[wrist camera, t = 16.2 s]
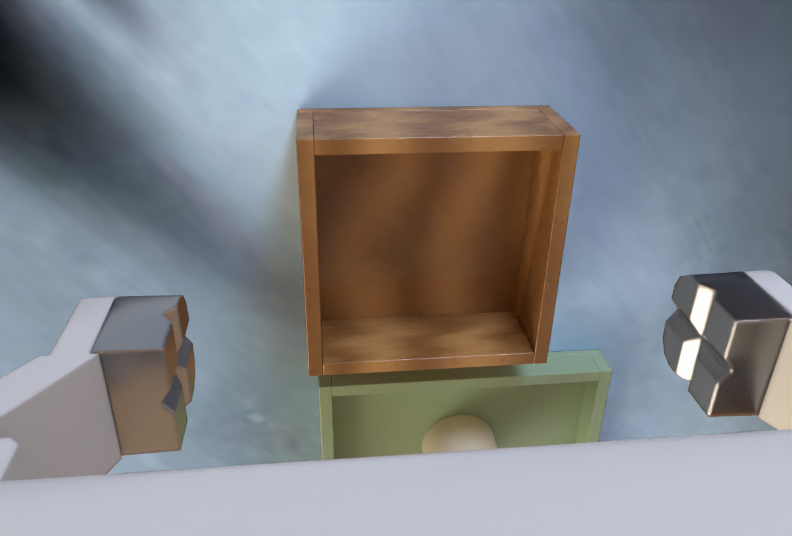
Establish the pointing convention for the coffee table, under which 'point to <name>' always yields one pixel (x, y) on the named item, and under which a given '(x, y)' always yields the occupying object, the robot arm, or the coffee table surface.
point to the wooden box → (431, 234)
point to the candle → (458, 435)
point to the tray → (465, 404)
